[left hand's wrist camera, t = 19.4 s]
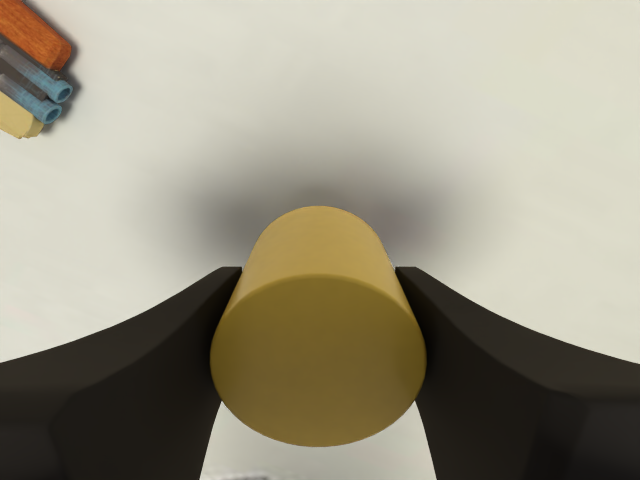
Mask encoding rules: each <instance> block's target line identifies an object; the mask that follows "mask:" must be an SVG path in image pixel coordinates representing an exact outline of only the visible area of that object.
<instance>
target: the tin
mask: <svg viewBox="0 0 640 480" xmlns="http://www.w3.org/2000/svg"><path fill="white" fill-rule="evenodd" d="M426 366H427V351H426V346H425V340H424V338H423V335H422V332H421V329H420V327H419V325H418V323H417V321H416V318H415V316H414V314H413V312H412V309H411V307H410V305H409V303H408V300H407V298H406V296H405V294H404V292H403V289H402V287H401V285H400V283H399V280H398V278H397V276H396V274H395V271H394V269H393V267H392V265H391V262H390V260H389V258H388V256H387V254H386V251H385V249H384V247H383V245H382V243H381V241H380V239H379V237H378V236H377V234H376V233H375V232H374V230H373V229H372V228H371V227H370V226H369V225H368V224H367V223H366V222H364V221H363V220H362V219H360V218H359V217H357V216H355V215H354V214H352V213H350V212H347V211H345V210H342V209H338V208H334V207H328V206H310V207H303V208H299V209H295V210H293V211H290V212H288V213H286V214H284V215H282V216H280V217H278V218H277V219H276V220H274V221H273V222H272V223H271V224H270V225H269V226H268V227H267V228H266V229H265V230H264V231H263V232H262V234H261V235H260V236H259V238H258V240H257V242H256V243H255V245H254V248H253V250H252V252H251V254H250V256H249V259H248V261H247V263H246V265H245V267H244V269H243V272H242V274H241V276H240V278H239V280H238V282H237V285H236V287H235V289H234V291H233V293H232V296H231V298H230V300H229V302H228V304H227V306H226V309H225V311H224V313H223V315H222V317H221V319H220V322H219V324H218V326H217V328H216V331H215V333H214V336H213V339H212V343H211V348H210V370H211V376H212V380H213V383H214V386H215V388H216V390H217V392H218V394H219V396H220V398H221V400H222V401H223V403H224V404H225V405H226V407H227V408H228V409H229V410H230V411H231V412H232V414H233V415H234V416H235V417H237V418H238V419H239V420H240V421H241V422H242V423H244V424H245V425H247V426H248V427H250V428H251V429H253V430H254V431H256V432H258V433H260V434H262V435H264V436H267V437H269V438H272V439H274V440H277V441H281V442H284V443H288V444H293V445H298V446H308V447H329V446H338V445H344V444H349V443H353V442H356V441H359V440H363V439H365V438H368V437H370V436H372V435H374V434H376V433H378V432H380V431H382V430H384V429H385V428H387V427H388V426H390V425H391V424H393V423H394V422H395V421H396V420H398V419H399V418H400V417H401V416H402V415H403V414H404V413H405V412H406V411H407V410H408V409H409V407H410V406H411V405H412V403H413V402H414V400H415V399H416V397H417V395H418V393H419V391H420V389H421V387H422V384H423V381H424V378H425V373H426Z"/></svg>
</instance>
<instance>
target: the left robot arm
mask: <svg viewBox="0 0 640 480" xmlns="http://www.w3.org/2000/svg"><path fill="white" fill-rule="evenodd" d="M241 274H242V267H221V268H219V269H217V270H215V271H213V272H212V273H210V274H208V275H207V276H205V277H204V278H202V279H200V280H199V281H197V282H196V283H194V284H192V285H191V286H189V287H188V288H186V289H184V290H183V291H181V292H179V293H178V294H176V295H174V296H172V297H171V298H169V299H167V300H165V301H163V302H162V303H160V304H158V305H156V306H155V307H153V308H151V309H149V310H147V311H145V312H143V313H141V314H139V315H137V316H135V317H132V318H130V319H128V320H126V321H124V322H121V323H119V324H117V325H114V326H112V327H110V328H107V329H104V330H102V331H99V332H96V333H94V334H91V335H88V336H86V337H83V338H80V339H78V340H75V341H72V342H69V343H66V344H63V345H60V346H57V347H54V348H51V349H48V350H44V351H41V352H38V353H34V354H31V355H27V356H24V357H20V358H17V359H13V360H9V361H6V362H2V363H0V480H199V479H200V475H201V471H202V466H203V462H204V458H205V455H206V451H207V447H208V443H209V439H210V435H211V431H212V428H213V424H214V421H215V418H216V415H217V412H218V409H219V407H220V404H221V401H222V400H221V398H220V396H219V394H218V392H217V390H216V388H215V386H214V383H213V380H212V376H211V370H210V348H211V343H212V339H213V336H214V333H215V331H216V328H217V326H218V324H219V322H220V319H221V317H222V315H223V313H224V311H225V309H226V306H227V304H228V302H229V300H230V298H231V296H232V293H233V291H234V289H235V287H236V285H237V282H238V280H239V278H240V276H241ZM395 274H396V276H397V278H398V280H399V283H400V285H401V287H402V289H403V292H404V294H405V296H406V298H407V300H408V303H409V305H410V307H411V309H412V312H413V314H414V316H415V318H416V321H417V323H418V325H419V327H420V329H421V332H422V335H423V338H424V340H425V346H426V351H427V366H426V373H425V378H424V381H423V384H422V387H421V389H420V391H419V393H418V395H417V397H416V399H415V402H416V405H417V407H418V410H419V413H420V416H421V419H422V423H423V426H424V429H425V433H426V437H427V441H428V445H429V449H430V453H431V457H432V461H433V465H434V470H435V474H436V478H437V480H640V364H637V363H633V362H629V361H625V360H622V359H618V358H615V357H611V356H608V355H604V354H601V353H598V352H594V351H591V350H587V349H584V348H581V347H578V346H575V345H572V344H569V343H566V342H563V341H560V340H558V339H555V338H552V337H550V336H547V335H544V334H541V333H539V332H536V331H534V330H531V329H529V328H526V327H524V326H521V325H519V324H517V323H515V322H513V321H510V320H508V319H506V318H504V317H502V316H499V315H497V314H495V313H493V312H491V311H489V310H487V309H486V308H484V307H482V306H480V305H478V304H476V303H475V302H473V301H471V300H469V299H467V298H466V297H464V296H462V295H461V294H459V293H457V292H456V291H454V290H452V289H451V288H449V287H448V286H446V285H444V284H443V283H441V282H440V281H438V280H437V279H435V278H434V277H432V276H430V275H429V274H427V273H426V272H424V271H422V270H420V269H419V268H417V267H396V268H395Z"/></svg>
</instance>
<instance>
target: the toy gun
mask: <svg viewBox="0 0 640 480" xmlns="http://www.w3.org/2000/svg"><path fill="white" fill-rule="evenodd" d="M70 54H71V45H70V44H69V43H68V42H67V41H65V40H64V39H63V38H62V37H61V36H60V35H59V34H58V33H57V32H56V31H54V30H53V29H52V28H51V27H50V26H49V25H48V24H47V23H45V22H44V21H43V20H42V19H41V18H40V17H39V16H38V15H37V14H35V13H34V12H33V11H32V10H31V9H30V8H29V7H27V6H26V5H25V4H24V3H23V2H22V1H20V0H0V129H1V130H3V131H5V132H7V133H9V134H11V135H13V136H14V137H16V138H18V139H21V138H22V137H26V138H30V137H35V136H37V135H38V134H39V133H40V131H41V130H42V128H43V126H44V124H50V123H52V122H53V121H55V120H56V119H57V118H58V117H59V116H60V114H61V112H62V107H61V106H60V105H59V104H57V103H61V102H64V101H65V100H66V99H68V98H69V96H70V95H71V93H72V91H73V88H72V86H71V85H69V84H68V83H67V81H68V78H67V77H65V76H64V75H63V74H62V73H61V72H60V70H61V68H62V67H63V66H64V64H65V63H66V61H67V60H68V58H69V57H70Z"/></svg>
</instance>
